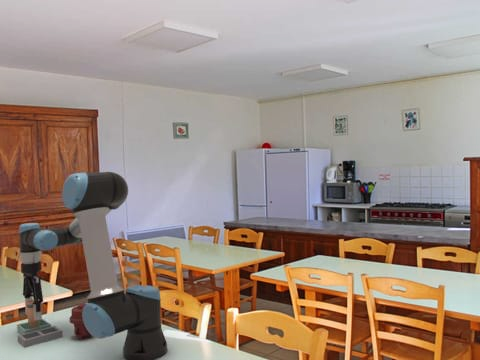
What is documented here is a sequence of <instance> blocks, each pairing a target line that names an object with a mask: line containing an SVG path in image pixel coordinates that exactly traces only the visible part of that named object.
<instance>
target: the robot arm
mask: <svg viewBox="0 0 480 360" xmlns="http://www.w3.org/2000/svg"><path fill="white" fill-rule="evenodd" d="M61 195H62V197H61V198H62V203H63V205H64V207H65V208H66V209H69V210H71V213H72V216H73V217H74V219H73V220H72V221H71V222H70V223H69V224H68V225H67V226H62V227H56V228H55V227H54V228H46V229H41V226H40V223H38V222H29V223H22V224H20V225H19V228H18V229H19V231H18V235H19V248H20V249H19V250H20V251H19V252H20V253H19V257H20V262H21V263H20V272H21V273H22V276H23V285H22V295H23V297H24V306H25V315H27V316H28V313H27V301H30V300H34V303H33V307H34V321H36V320H40V319H43V316H42V315H43V314H42V313H43V312H42V310H43V309H42V303H44V297H43V289H42V278H41V276H39V275H38V272H41V271H42V269H43V268H42V261H41V260H42V255H43V252H42V251H50V250H51V251H52V250H53V249H54V248H59V247H60V248H61V247H66V246H71V245H79V244H82V247H83V253H84V257H85V264H86V270H87V274H88V275H87V277H88V282H89V289H90V293H89V294H88V295H87V297H86V299H87V303H85V304H86V305H85V306H84V308H83V312H82V317H83V322H84V325H85V327H86V329H87V330H88V332H89V333H90V334H91V335H92V336H91V337H93V338H95V339H103V338H104V339H105V338H108V337H113V336H114V335H117V334H119V333H123V332H126V331H127V333H126V337H125V339H124V340H125V341H124V344H123V347H122V355H123V358H124V359H126V360H156V359H157V358H158V359H159V358H160V357H163V356H164V355H165V354H166V353H168V343H167V339H166V337H165V334H164V331H163V328H162V311H161V310H162V305H161V303H162V302H161V300H162V299H161V293H160V289H159V288H158V287H156V286H153V285H141V284H139V285H138V284H137V285H129V286H126V288H125V290H124V288H122V286H120V285H119V283H118V279H117V273H116V267H115V261H114V257H113V256H114V255H113V250H112V246H111V245H112V244H111V241H110V234H109V229H108V222H107V217H106V216H108V215H109V214H110V213H111V211H113V210H117V209H119V208H120V206H122V205H123V204H124V203H125V201H126V199H127V198H128V195H129V186H128V182H127V181H126V180H125V178H124V177H123V176H122V175H120V174H119V173H116V172H114V171H105V172H104V171H103V172H99V171H95V172H93V171H91V172H89V171H87V172H83V171H82V172H76V173H72V174H70V175H69V176H68V177H67V178H66V179H65V181H64V183H63V186H62V190H61Z"/></svg>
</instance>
